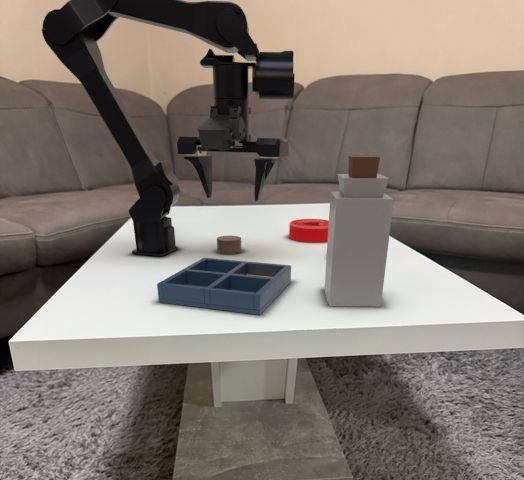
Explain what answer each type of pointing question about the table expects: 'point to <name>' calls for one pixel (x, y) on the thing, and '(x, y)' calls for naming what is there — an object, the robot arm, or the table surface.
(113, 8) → the robot arm
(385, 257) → the perfume bottle
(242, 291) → the holder
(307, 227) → the red ring
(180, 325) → the table surface
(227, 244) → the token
